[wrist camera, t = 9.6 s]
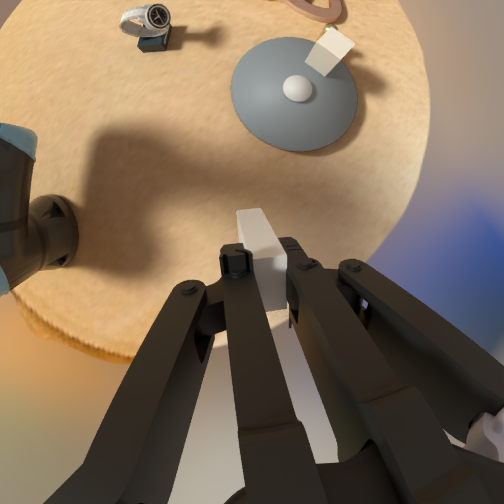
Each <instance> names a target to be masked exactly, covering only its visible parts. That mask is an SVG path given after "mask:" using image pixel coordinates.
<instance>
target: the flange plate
mask: <svg viewBox="0 0 504 504" xmlns="http://www.w3.org/2000/svg"><path fill="white" fill-rule="evenodd" d="M354 45H355V43H353V42H352V41H351V40H349V39H348V38H347V37H345V36H344V35H343V34H341V33H340V32H338V31H337V30H336V29H334V28H333V27H331V28H330V29H329V30H328V31H327V32H326V33H325V34H324V35H323V36H322V37H321V38H320V39H319V40H318V41H317V42H316V43H315V42H313V41H310V40H306V39H302V38H295V37H282V38H275V39H271V40H268V41H265V42H262V43H260V44H258V45H256V46H255V47H253V48H252V49H251V50H249V51H248V52H247V53H246V54H245V55H244V56H243V57H242V58H241V60H240V61H239V63H238V64H237V66H236V68H235V70H234V73H233V76H232V81H231V97H232V101H233V106H234V108H235V111H236V113H237V115H238V117H239V119H240V121H241V122H242V123H243V125H244V126H245V127H246V128H247V129H248V130H249V131H250V132H251V133H252V134H253V135H254V136H256V137H257V138H258V139H260V140H261V141H263V142H265V143H267V144H269V145H271V146H273V147H276V148H279V149H283V150H288V151H310V150H315V149H319V148H322V147H325V146H327V145H329V144H331V143H333V142H334V141H336V140H337V139H339V138H340V137H341V136H342V135H343V134H344V133H345V132H346V131H347V129H348V128H349V126H350V125H351V123H352V121H353V119H354V117H355V113H356V109H357V90H356V86H355V82H354V80H353V77H352V75H351V73H350V72H349V70H348V68H347V67H346V65H345V64H344V63H343V62H342V61H341V59H342V58H343V57H344V56H345V55H346V53H347V52H348V51H349V50H350V49H351V48H352V47H353V46H354Z"/></svg>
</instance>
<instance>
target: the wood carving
mask: <svg viewBox="0 0 504 504" xmlns="http://www.w3.org/2000/svg"><path fill="white" fill-rule="evenodd" d="M272 1H278V2H281V3H284V4H286V5H287V6H289V7H290V8H291V9H292V10H294V11H296V12H298V13H299V14H301V15H303V16H305V17H307V18H310V19H312V20H315V21H318V22H323V23H332V22H334V21H336V20H337V19H338V18H339V16H340V14H341V12H342V4H341V1H340V0H329V8H321V7H318V6H315V5H312V4H310V3H308V2H306V1H305V0H272Z"/></svg>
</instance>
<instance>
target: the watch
mask: <svg viewBox="0 0 504 504" xmlns="http://www.w3.org/2000/svg"><path fill="white" fill-rule="evenodd" d="M131 19H138V21H139V22H141V23H143V27H141V25H138V24H135V23H133V22H131V21H129V20H131ZM127 20H128V21H127ZM170 20H171V16H170V12H169V10H168V9H167V8H166V7H165V6H164V5H163V4H161V3H160V4H153V5H143V6H140V7H134V8H131V9H129V10H127V11H126V12H125V13H124V14H123V16H122V18H121V21H120V24H119V28H120V29H121V30H122V32H124V33H126V34H129V35H132V36H135V37H138V36H139V37H140V38H139V42H138V45H137V47H138V48H139V49H140V50H141V51H142V52H143V53H145V52H156V51H166V48H167V44H168V40H169V36H170V32H171V28H172V26H171V24H170Z"/></svg>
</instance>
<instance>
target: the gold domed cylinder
mask: <svg viewBox="0 0 504 504" xmlns="http://www.w3.org/2000/svg"><path fill="white" fill-rule="evenodd" d="M331 27H333V28H334V29H336V30H337V31H338V28H337V27H336V26H335V25H334V24H327V25H326V26H325V27H324V29H323V31H322V32H321V34H320V36H319V37H318V39H317V41H318V40H319V39H320V38H321V37H322V36H323V35H324V34H325V33H326V32H327V31H328V30H329V29H330V28H331ZM317 41H316V42H317ZM316 42H315V43H316Z"/></svg>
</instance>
